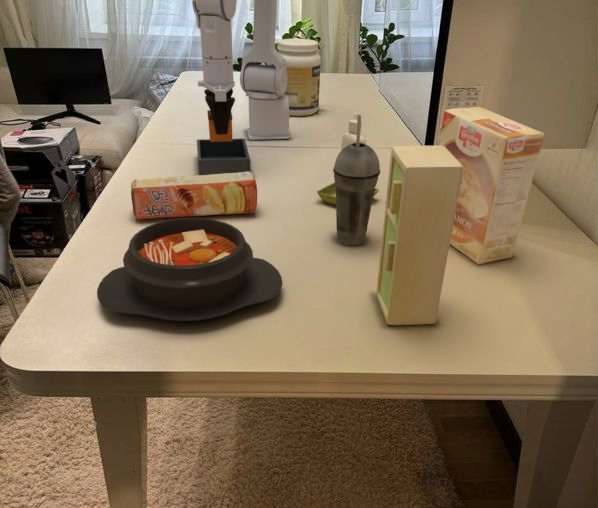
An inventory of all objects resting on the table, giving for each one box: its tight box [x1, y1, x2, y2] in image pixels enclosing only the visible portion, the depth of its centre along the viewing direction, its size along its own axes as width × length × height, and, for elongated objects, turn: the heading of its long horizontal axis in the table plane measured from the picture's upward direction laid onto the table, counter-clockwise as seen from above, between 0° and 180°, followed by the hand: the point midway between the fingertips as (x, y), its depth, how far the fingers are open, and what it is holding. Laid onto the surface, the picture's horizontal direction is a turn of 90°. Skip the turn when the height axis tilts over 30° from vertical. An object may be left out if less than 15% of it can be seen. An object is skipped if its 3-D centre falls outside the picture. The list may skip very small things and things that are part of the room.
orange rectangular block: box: [206, 109, 234, 142], centre depth 119 cm, size 5×4×5 cm
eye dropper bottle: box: [341, 112, 367, 150], centre depth 120 cm, size 4×6×12 cm
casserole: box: [96, 217, 283, 322], centre depth 80 cm, size 25×19×8 cm
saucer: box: [316, 181, 380, 206], centre depth 111 cm, size 9×9×2 cm
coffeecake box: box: [438, 106, 545, 265], centre depth 93 cm, size 15×7×20 cm, turn 23°
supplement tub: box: [276, 38, 322, 117], centre depth 157 cm, size 12×12×17 cm
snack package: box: [130, 171, 258, 220], centre depth 103 cm, size 21×7×7 cm, turn 100°
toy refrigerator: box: [375, 145, 463, 326], centre depth 75 cm, size 8×7×21 cm
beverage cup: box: [332, 114, 381, 246], centre depth 92 cm, size 7×7×20 cm
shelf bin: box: [196, 137, 252, 175], centre depth 123 cm, size 10×13×4 cm
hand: (221, 130), depth 120 cm, fingers closed on orange rectangular block, 4 cm apart
